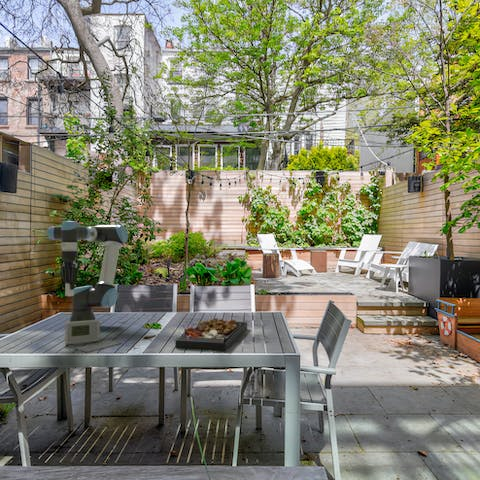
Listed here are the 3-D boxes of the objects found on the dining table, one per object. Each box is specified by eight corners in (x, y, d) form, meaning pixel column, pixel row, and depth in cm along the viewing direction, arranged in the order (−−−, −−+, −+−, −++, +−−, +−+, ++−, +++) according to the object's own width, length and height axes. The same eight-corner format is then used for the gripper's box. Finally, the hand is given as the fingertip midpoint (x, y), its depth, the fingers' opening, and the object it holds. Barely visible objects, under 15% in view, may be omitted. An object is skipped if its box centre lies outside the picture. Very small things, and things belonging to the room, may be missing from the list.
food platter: (225, 352, 167) (225, 330, 167) (175, 349, 173) (175, 327, 173) (247, 330, 211) (247, 312, 211) (206, 327, 217) (206, 310, 217)
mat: (75, 349, 172) (75, 348, 172) (108, 340, 187) (108, 339, 187) (87, 352, 167) (87, 351, 167) (120, 343, 181) (120, 342, 181)
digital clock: (63, 345, 178) (63, 324, 178) (67, 341, 187) (67, 320, 187) (98, 343, 182) (98, 322, 182) (101, 339, 190) (101, 318, 191)
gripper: (54, 250, 193) (54, 295, 192) (70, 250, 184) (70, 297, 184) (68, 250, 199) (68, 293, 199) (84, 250, 190) (84, 296, 190)
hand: (69, 295), depth 191 cm, fingers closed
